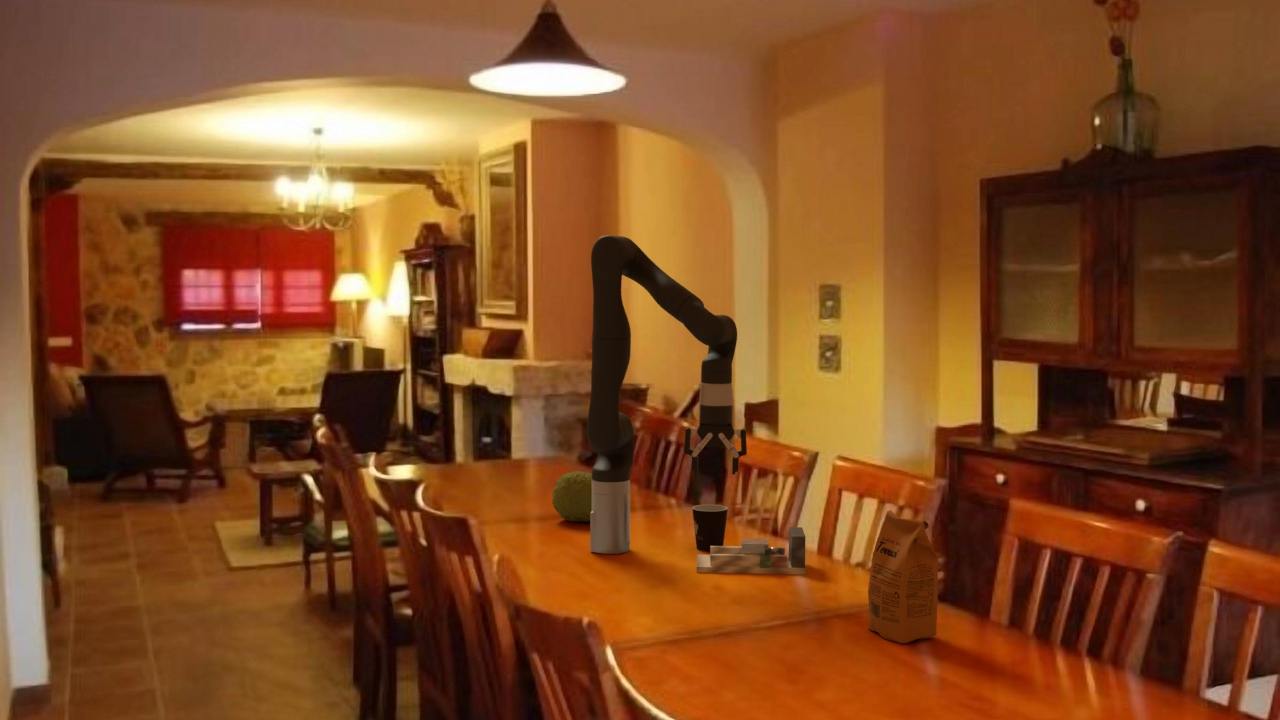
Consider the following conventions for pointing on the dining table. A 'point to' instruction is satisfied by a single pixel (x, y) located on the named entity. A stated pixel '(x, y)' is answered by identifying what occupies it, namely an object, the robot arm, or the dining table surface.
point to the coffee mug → (709, 525)
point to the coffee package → (903, 581)
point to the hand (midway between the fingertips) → (715, 473)
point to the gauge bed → (756, 558)
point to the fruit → (573, 496)
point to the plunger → (758, 547)
